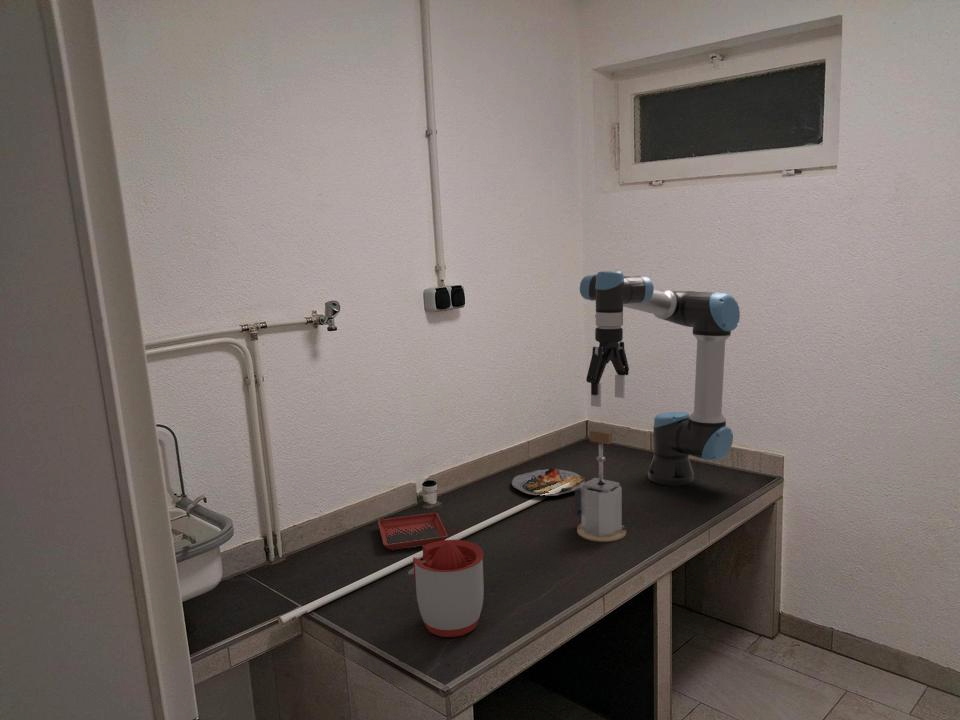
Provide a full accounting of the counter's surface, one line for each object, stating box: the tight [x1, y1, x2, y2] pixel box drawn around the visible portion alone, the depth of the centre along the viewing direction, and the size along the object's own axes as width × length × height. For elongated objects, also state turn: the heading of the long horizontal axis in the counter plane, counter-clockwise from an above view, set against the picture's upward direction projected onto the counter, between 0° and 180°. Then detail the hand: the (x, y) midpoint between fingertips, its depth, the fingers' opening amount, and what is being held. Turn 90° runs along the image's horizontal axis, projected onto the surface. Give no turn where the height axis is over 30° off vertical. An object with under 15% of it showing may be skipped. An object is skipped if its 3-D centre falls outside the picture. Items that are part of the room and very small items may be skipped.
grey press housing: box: [574, 477, 627, 543], centre depth 210 cm, size 14×15×15 cm
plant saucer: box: [377, 512, 448, 550], centre depth 212 cm, size 18×18×3 cm
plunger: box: [589, 428, 613, 492], centre depth 207 cm, size 7×7×19 cm
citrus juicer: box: [407, 539, 485, 638], centre depth 163 cm, size 16×17×20 cm
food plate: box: [511, 467, 587, 497], centre depth 249 cm, size 25×23×4 cm
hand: (608, 401), depth 206 cm, fingers open, 13 cm apart
